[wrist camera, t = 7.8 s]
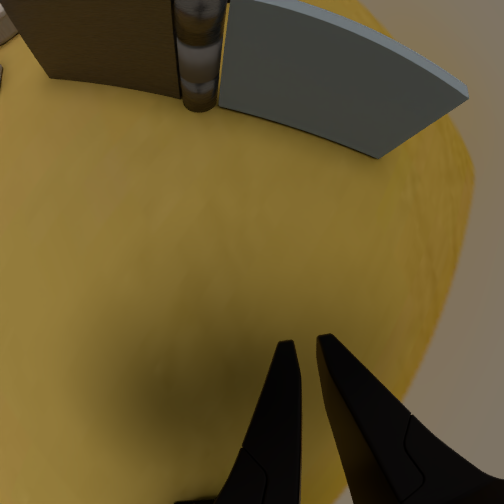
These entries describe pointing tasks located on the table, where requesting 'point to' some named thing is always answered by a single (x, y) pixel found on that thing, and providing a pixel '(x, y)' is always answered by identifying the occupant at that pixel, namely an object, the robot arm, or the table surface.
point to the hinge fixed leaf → (121, 42)
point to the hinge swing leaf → (323, 75)
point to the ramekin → (6, 27)
